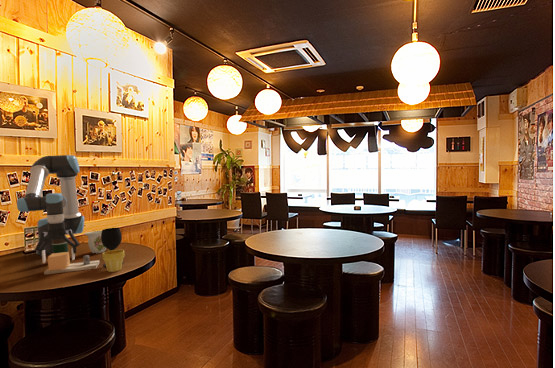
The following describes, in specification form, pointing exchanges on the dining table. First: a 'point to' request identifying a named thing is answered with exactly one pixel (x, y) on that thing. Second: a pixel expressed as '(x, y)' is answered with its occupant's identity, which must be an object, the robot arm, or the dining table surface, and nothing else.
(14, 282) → the dining table surface
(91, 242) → the pitcher
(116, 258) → the plant pot
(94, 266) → the post board
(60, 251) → the beer bottle
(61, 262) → the tan block
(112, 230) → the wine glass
